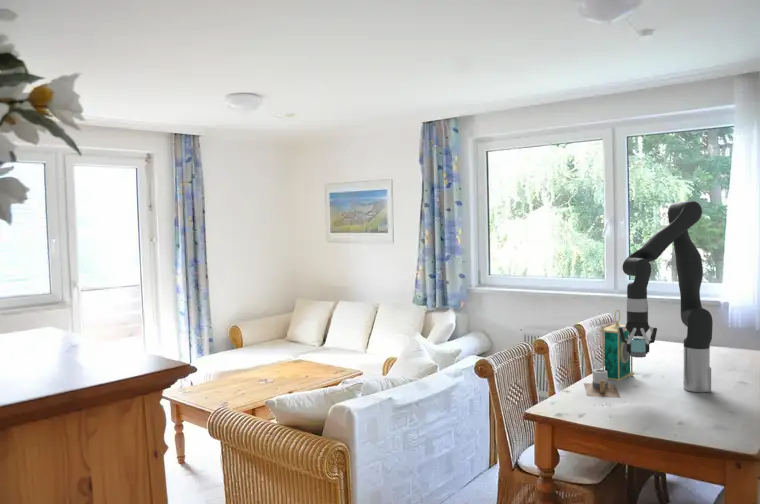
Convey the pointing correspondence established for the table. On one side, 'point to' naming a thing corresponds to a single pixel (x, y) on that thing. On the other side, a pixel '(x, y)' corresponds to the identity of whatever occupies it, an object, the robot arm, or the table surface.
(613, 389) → the brown peg stand
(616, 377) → the carriage clock
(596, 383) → the grey sleeve
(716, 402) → the table surface
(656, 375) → the table surface
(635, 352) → the teal sleeve
